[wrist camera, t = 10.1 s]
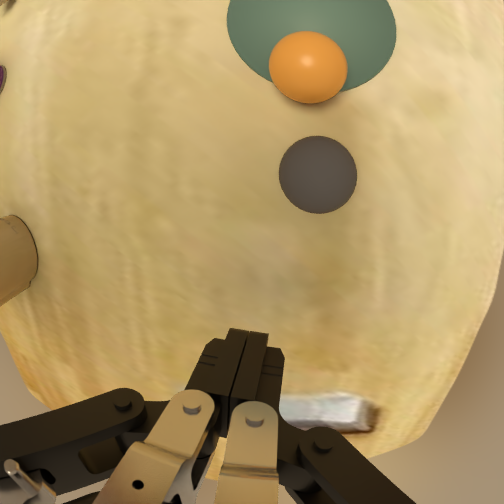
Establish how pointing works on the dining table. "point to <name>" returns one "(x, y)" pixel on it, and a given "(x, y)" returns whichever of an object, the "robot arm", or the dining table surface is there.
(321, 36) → the orange ball
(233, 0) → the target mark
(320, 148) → the dark grey ball
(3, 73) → the container
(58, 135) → the dining table surface
